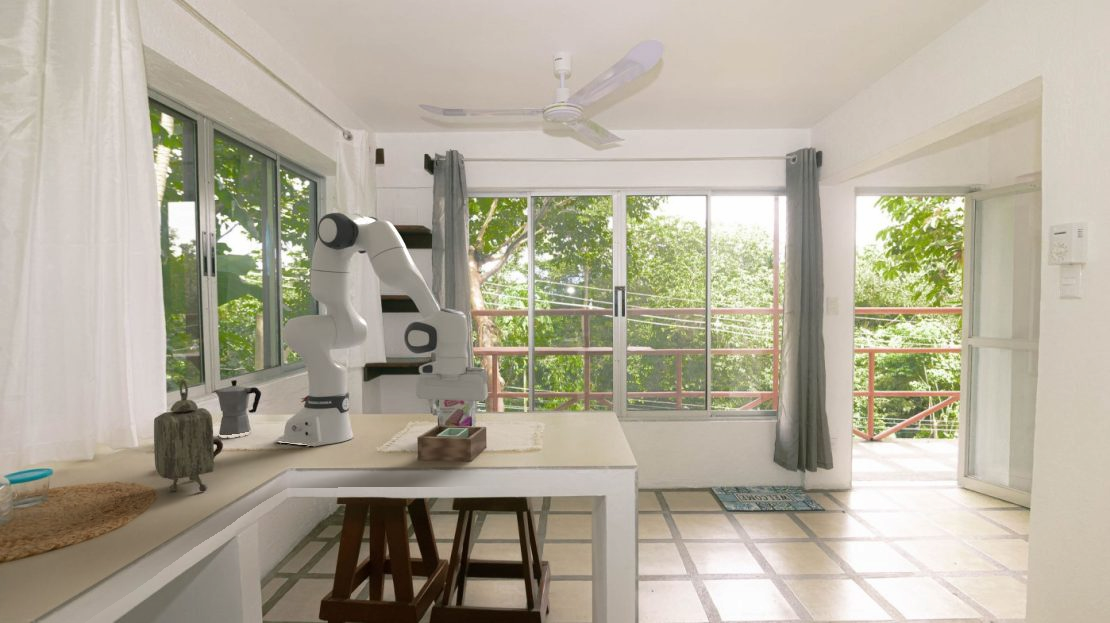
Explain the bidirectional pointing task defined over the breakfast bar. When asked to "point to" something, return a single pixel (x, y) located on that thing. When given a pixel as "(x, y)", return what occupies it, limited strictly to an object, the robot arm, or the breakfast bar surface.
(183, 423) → the tabletop clock
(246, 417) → the coffeepot
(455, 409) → the candy bar box
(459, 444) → the walnut crate
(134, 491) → the breakfast bar surface
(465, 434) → the sage crate
